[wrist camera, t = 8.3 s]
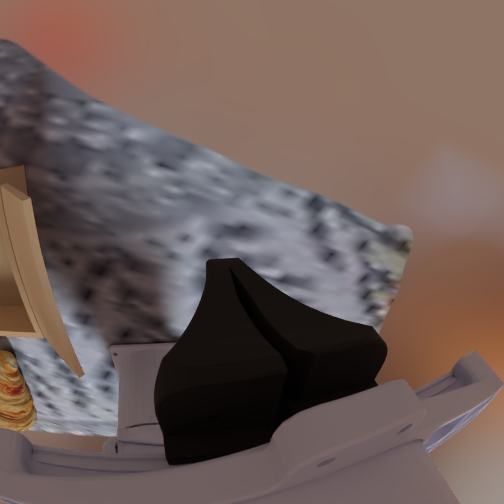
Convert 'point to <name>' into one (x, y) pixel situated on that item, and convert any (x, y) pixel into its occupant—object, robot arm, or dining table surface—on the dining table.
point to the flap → (36, 273)
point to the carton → (13, 272)
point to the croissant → (14, 396)
